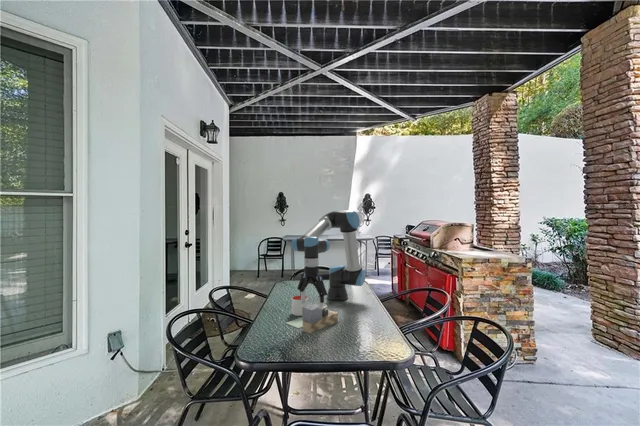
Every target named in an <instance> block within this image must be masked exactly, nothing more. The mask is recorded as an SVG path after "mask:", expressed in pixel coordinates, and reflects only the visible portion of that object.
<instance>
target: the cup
mask: <svg viewBox="0 0 640 426" xmlns="http://www.w3.org/2000/svg"><path fill="white" fill-rule="evenodd" d="M290 301H291V314H292V315H293V316H295V317H302V307H304V306H307V305H309V304H308V303H309V299H308V297H307V296H306V295H305V303H303V304H301V297H300V295H294V296H292V297H291V300H290Z"/></svg>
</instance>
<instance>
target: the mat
mask: <svg viewBox="0 0 640 426" xmlns="http://www.w3.org/2000/svg"><path fill="white" fill-rule="evenodd" d="M285 324H286V325H288V326H291V327H294V328H296V329H298V330H299V329H301V328H302V329H303V320H302V316H300V317H298V318H296V319H293V320H290V321H287V322H285Z"/></svg>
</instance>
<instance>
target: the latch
mask: <svg viewBox="0 0 640 426" xmlns="http://www.w3.org/2000/svg"><path fill="white" fill-rule="evenodd" d="M328 311H329V309H327V308H326V307H323V308H322V316H327V315H328Z"/></svg>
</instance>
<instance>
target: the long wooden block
mask: <svg viewBox="0 0 640 426" xmlns="http://www.w3.org/2000/svg"><path fill="white" fill-rule="evenodd" d="M338 313H339V312H337V311H333V310H328V315H327V316H322V320H320V321H317V322H315V323H312V324H311V323H308V322H305V321H303V327H302V331H303V332H305V333H308V334H312V333H314V332H316V331H318V330H321V329H324V328H326V327H329V326H332V325H333V324H335V323H338V322H339V314H338Z"/></svg>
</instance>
